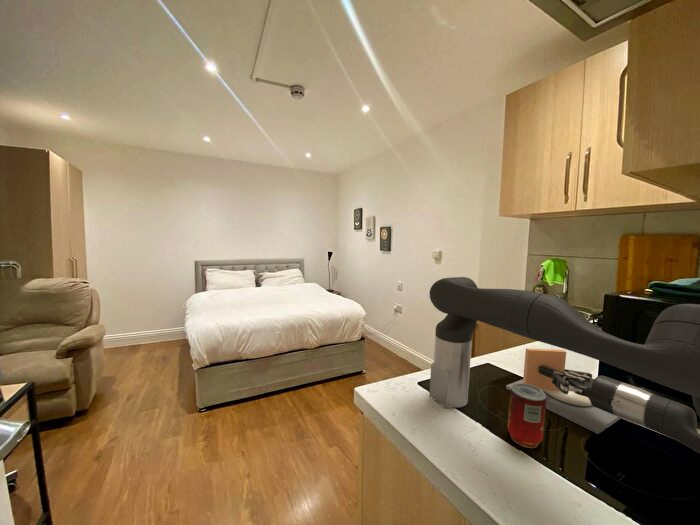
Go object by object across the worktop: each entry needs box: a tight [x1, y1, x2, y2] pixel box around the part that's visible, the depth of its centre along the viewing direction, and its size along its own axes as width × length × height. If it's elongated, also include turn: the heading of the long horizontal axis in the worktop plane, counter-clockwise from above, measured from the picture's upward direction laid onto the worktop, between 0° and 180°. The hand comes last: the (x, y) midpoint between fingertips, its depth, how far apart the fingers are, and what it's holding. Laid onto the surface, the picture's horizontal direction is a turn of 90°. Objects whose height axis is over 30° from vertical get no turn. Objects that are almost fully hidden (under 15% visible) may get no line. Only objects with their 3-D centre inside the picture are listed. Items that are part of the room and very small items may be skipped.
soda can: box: [507, 383, 546, 449], centre depth 63 cm, size 7×7×12 cm
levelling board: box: [505, 378, 622, 435], centre depth 81 cm, size 24×22×3 cm
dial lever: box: [522, 347, 592, 406], centre depth 80 cm, size 18×12×12 cm, turn 87°
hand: (540, 368), depth 80 cm, fingers closed
